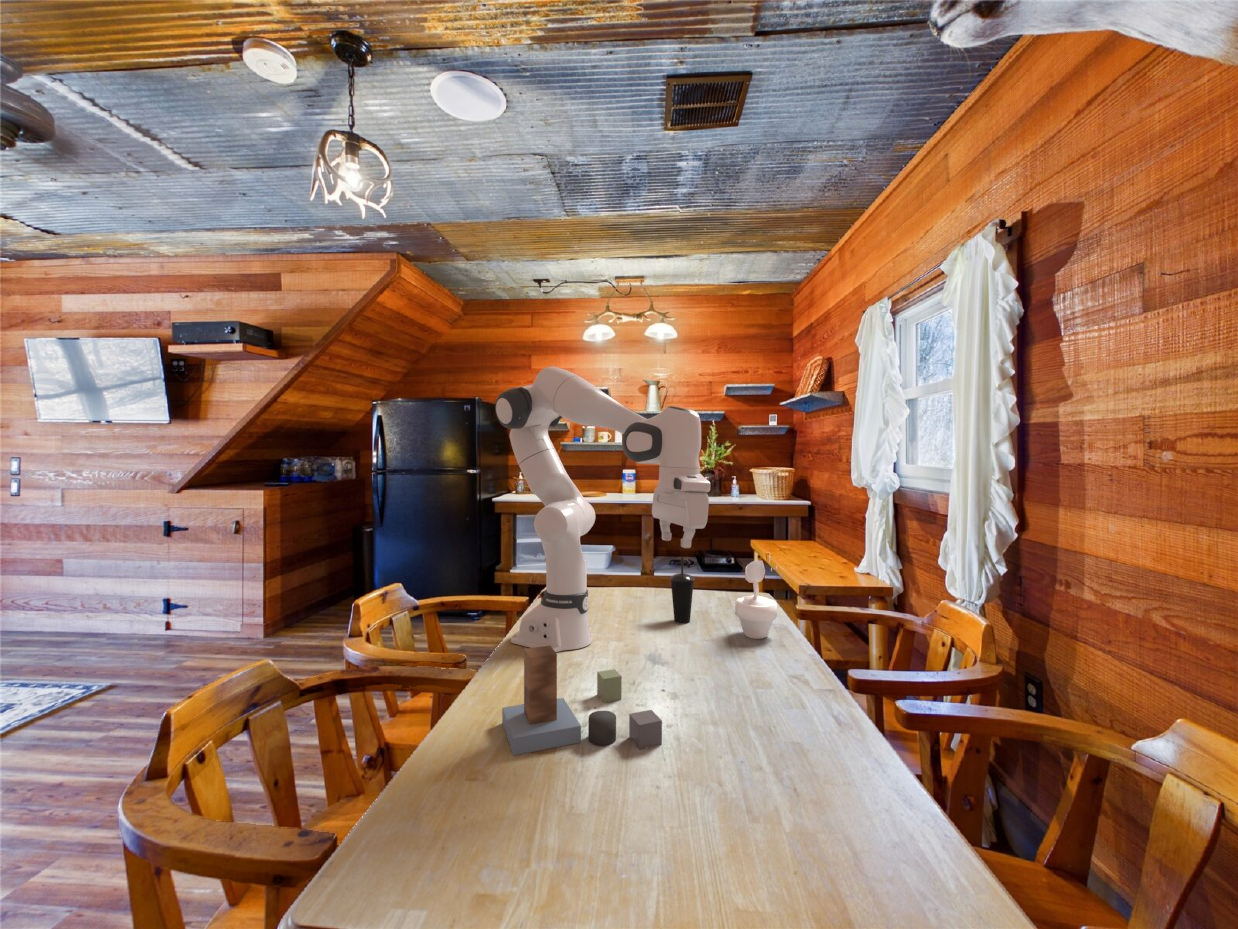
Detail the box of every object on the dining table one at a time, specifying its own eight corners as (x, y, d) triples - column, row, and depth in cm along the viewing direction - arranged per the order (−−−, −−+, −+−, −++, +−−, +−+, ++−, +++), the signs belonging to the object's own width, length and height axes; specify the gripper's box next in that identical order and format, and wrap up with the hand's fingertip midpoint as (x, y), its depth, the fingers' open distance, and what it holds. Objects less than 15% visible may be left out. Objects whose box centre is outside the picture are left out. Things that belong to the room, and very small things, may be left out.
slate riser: (513, 755, 92) (513, 738, 92) (502, 723, 103) (502, 707, 103) (580, 742, 97) (580, 725, 97) (563, 712, 108) (563, 697, 108)
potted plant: (778, 644, 148) (779, 552, 148) (735, 641, 150) (735, 551, 150) (775, 629, 160) (775, 545, 160) (734, 627, 163) (735, 544, 162)
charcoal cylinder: (583, 743, 96) (584, 721, 96) (595, 730, 101) (595, 708, 101) (610, 748, 95) (610, 726, 95) (620, 735, 99) (620, 713, 99)
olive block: (603, 703, 112) (603, 679, 112) (597, 695, 116) (597, 671, 116) (621, 699, 114) (621, 676, 114) (614, 692, 118) (614, 669, 117)
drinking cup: (665, 622, 167) (666, 558, 166) (675, 616, 173) (675, 554, 173) (689, 626, 163) (689, 560, 163) (697, 619, 170) (698, 556, 170)
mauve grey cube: (639, 750, 94) (639, 725, 94) (629, 737, 98) (629, 713, 98) (661, 745, 96) (661, 720, 96) (651, 733, 100) (651, 709, 100)
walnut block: (529, 724, 97) (529, 658, 97) (524, 712, 101) (524, 648, 101) (556, 720, 99) (556, 654, 98) (550, 708, 103) (550, 645, 103)
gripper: (646, 477, 127) (643, 536, 127) (687, 483, 108) (684, 552, 108) (671, 478, 129) (668, 536, 130) (715, 484, 110) (711, 551, 110)
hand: (675, 543), depth 119 cm, fingers open, 8 cm apart
